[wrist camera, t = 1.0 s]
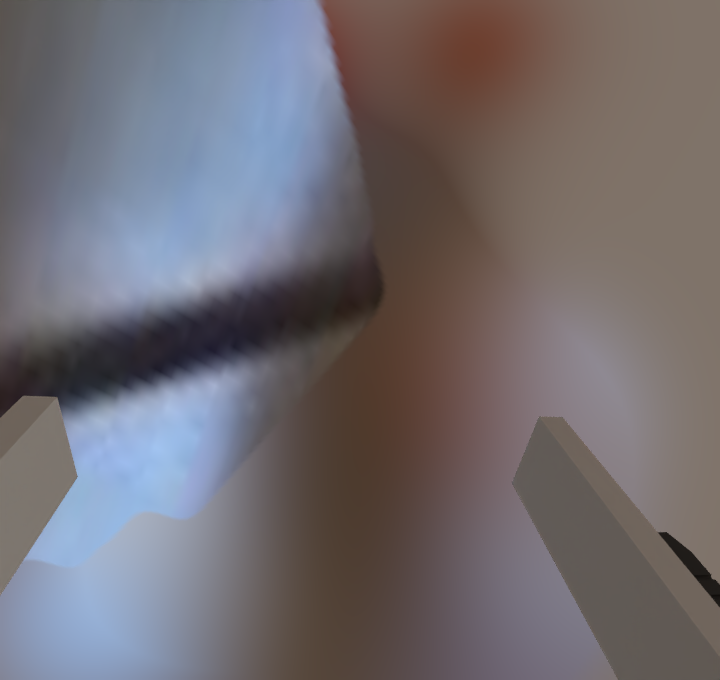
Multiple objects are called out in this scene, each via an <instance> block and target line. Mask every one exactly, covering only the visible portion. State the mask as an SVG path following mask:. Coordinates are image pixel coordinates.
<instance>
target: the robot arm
mask: <svg viewBox="0 0 720 680" xmlns="http://www.w3.org/2000/svg"><path fill="white" fill-rule="evenodd" d="M77 477H78V476H77V472H76V469H75V465H74V461H73V457H72V453H71V449H70V445H69V442H68V438H67V434H66V430H65V426H64V422H63V418H62V414H61V411H60V407H59V403H58V399H57V397H40V396H23V397H22V398H21V399H20V400H19V401H18V402H17V403H15V404H14V405H13V406H12V407H11V408H10V409H9V410H8V411H7V412H6V413H5V414H4V415H3V416H2V417H1V418H0V595H1V594H2V592H3V591H4V589H5V587H6V586H7V584H8V583H9V581H10V580H11V578H12V577H13V575H14V574H15V572H16V571H17V569H18V568H19V566H20V564H21V563H22V561H23V560H24V558H25V557H26V555H27V554H28V552H29V551H30V549H31V548H32V546H33V545H34V543H35V541H36V540H37V538H38V537H39V535H40V534H41V532H42V531H43V529H44V528H45V526H46V525H47V523H48V522H49V520H50V518H51V517H52V515H53V514H54V512H55V511H56V509H57V508H58V506H59V505H60V503H61V502H62V500H63V499H64V497H65V495H66V494H67V492H68V491H69V489H70V488H71V486H72V485H73V483H74V482H75V480H76V479H77ZM512 484H513V486H514V488H515V490H516V492H517V493H518V495H519V497H520V499H521V501H522V503H523V505H524V506H525V508H526V510H527V512H528V514H529V516H530V517H531V519H532V521H533V523H534V525H535V527H536V528H537V531H538V532H539V534H540V536H541V538H542V540H543V541H544V543H545V545H546V547H547V549H548V551H549V553H550V554H551V556H552V558H553V560H554V562H555V564H556V566H557V567H558V569H559V571H560V573H561V575H562V577H563V579H564V580H565V582H566V584H567V586H568V588H569V590H570V592H571V593H572V595H573V597H574V599H575V601H576V603H577V604H578V606H579V608H580V610H581V612H582V614H583V616H584V617H585V619H586V621H587V623H588V625H589V626H590V629H591V630H592V632H593V634H594V636H595V638H596V640H597V642H598V643H599V645H600V647H601V649H602V651H603V653H604V654H605V656H606V658H607V660H608V662H609V664H610V666H611V667H612V669H613V671H614V673H615V675H616V677H617V678H618V680H720V585H719V583H717V581H716V580H713V579H712V578H711V574H710V573H709V572H708V571H707V570H706V568H705V567H704V566H703V565H702V564H701V563H700V561H699V560H698V559H697V558H696V557H695V556H694V555H693V553H692V552H691V551H689V550H688V549H687V548H686V547H684V546H683V545H682V544H681V543H679V542H678V541H677V540H676V539H674V538H673V537H672V536H671V535H669V534H668V533H667V532H657V531H656V530H655V529H654V527H653V526H652V525H651V524H650V523H649V522H648V520H647V519H646V518H645V517H644V515H643V514H642V513H641V512H640V510H639V509H638V508H637V507H636V506H635V504H634V503H633V502H632V501H631V500H630V498H629V497H628V496H627V495H626V494H625V492H624V491H623V490H622V489H621V487H620V486H619V485H618V484H617V483H616V481H615V480H614V479H613V478H612V477H611V475H610V474H609V473H608V472H607V471H606V469H605V468H604V467H603V466H602V465H601V463H600V462H599V461H598V460H597V458H596V457H595V456H594V455H593V454H592V453H591V451H590V450H589V449H588V448H587V446H586V445H585V444H584V443H583V442H582V440H581V439H580V438H579V437H578V435H577V434H576V433H575V432H574V431H573V429H572V428H571V427H570V426H569V425H568V423H567V422H566V421H565V420H564V419H563V418H562V417H539V418H538V420H537V423H536V426H535V428H534V431H533V433H532V435H531V438H530V440H529V443H528V445H527V447H526V450H525V453H524V455H523V457H522V460H521V462H520V465H519V467H518V470H517V472H516V475H515V477H514V480H513V482H512Z"/></svg>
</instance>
